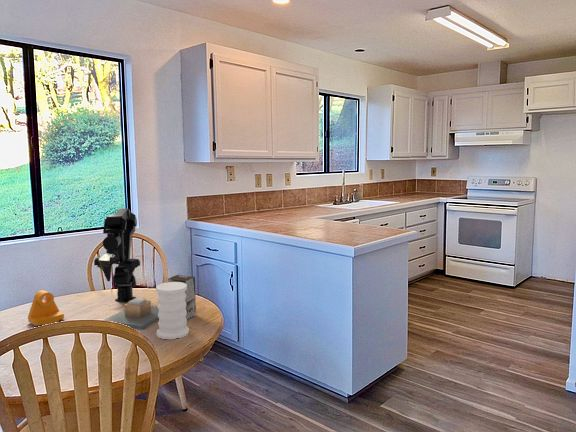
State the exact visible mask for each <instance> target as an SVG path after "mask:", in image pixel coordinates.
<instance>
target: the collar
mask: <svg viewBox="0 0 576 432" xmlns="http://www.w3.org/2000/svg"><path fill="white" fill-rule="evenodd" d="M151 306H152V301H151V300H148V299H146V302H145V303H144V304H142V305H140V306H138V305H130V301H128V302H125V303H124V309H125V317H132V318H139V319H141V318H142V317H144V316H146V315H148V314H149V313H151ZM124 309H123V310H124Z"/></svg>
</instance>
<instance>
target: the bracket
mask: <svg viewBox="0 0 576 432" xmlns="http://www.w3.org/2000/svg"><path fill="white" fill-rule="evenodd" d="M44 297H45V298H44ZM27 319H28V322H29V323H30V324H32V325H33V326H36V327H37V326H42V325H45V324H49V323H53V324H55V323H54V322H57V323H59V321H60V320H63V319H65V313H64V312H62V311H60V310H59V308H58V306H57V304H56V302H55V296H54V295H53V294H52V293H51V292H49V291H47V290H44V289H41V290H38V291H37V292H36V293H35V294H34V296H33V300H32V303H31V306H30V309H29V312H28V315H27ZM49 325H50V324H49ZM45 326H46V325H45Z"/></svg>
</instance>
